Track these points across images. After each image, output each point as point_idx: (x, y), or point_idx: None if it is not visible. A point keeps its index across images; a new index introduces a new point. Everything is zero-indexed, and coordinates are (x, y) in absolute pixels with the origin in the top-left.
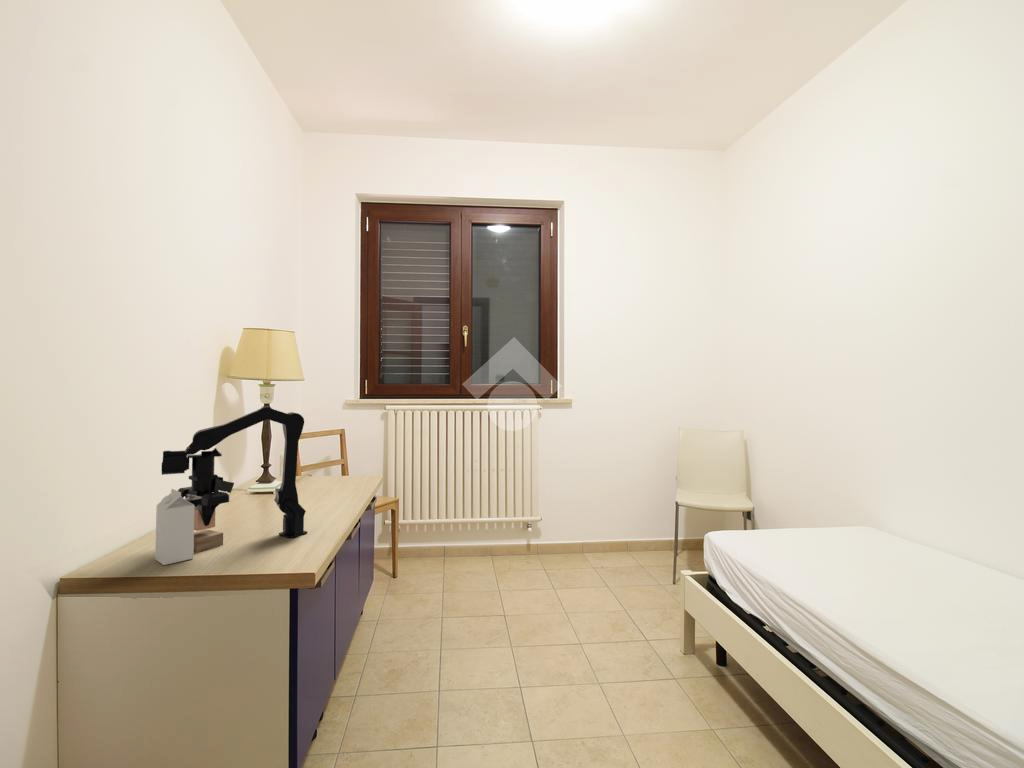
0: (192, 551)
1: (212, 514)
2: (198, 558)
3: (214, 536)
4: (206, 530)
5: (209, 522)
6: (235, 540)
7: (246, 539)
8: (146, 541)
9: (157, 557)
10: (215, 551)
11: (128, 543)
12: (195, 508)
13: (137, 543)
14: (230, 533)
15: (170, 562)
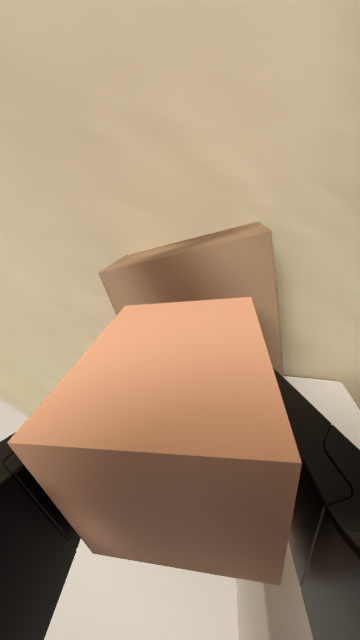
0: (355, 407)
1: (328, 425)
2: (351, 367)
3: (275, 291)
4: (129, 281)
5: (275, 371)
6: (228, 118)
7: (271, 27)
8: (13, 377)
9: None
10: (329, 291)
11: (14, 405)
12: (162, 555)
13: (24, 395)
14: (41, 72)
15: None
